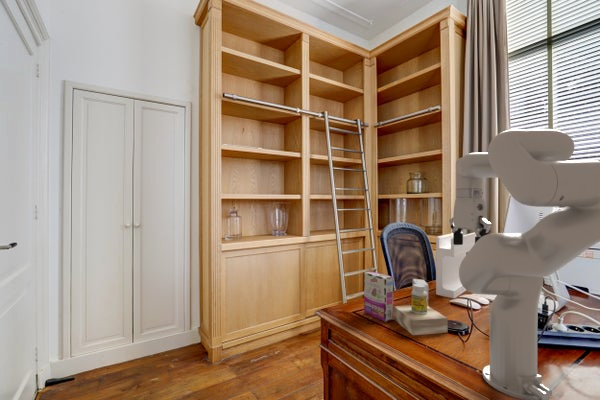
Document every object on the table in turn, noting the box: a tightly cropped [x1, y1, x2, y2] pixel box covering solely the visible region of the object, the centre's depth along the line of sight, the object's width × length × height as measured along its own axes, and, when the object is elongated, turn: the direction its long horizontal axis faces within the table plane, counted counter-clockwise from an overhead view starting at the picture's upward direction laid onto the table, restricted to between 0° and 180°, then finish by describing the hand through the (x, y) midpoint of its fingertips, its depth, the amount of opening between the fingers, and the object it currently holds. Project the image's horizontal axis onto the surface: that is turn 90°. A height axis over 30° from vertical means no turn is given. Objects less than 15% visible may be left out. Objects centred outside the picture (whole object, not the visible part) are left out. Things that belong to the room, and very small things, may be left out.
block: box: [435, 231, 477, 299], centre depth 148 cm, size 35×8×28 cm, turn 134°
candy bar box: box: [363, 271, 394, 323], centre depth 113 cm, size 11×5×16 cm, turn 33°
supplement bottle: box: [410, 284, 427, 314], centre depth 104 cm, size 5×5×10 cm
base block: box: [393, 304, 449, 336], centre depth 104 cm, size 13×13×5 cm
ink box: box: [411, 278, 430, 306], centre depth 119 cm, size 9×5×12 cm, turn 168°
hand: (468, 247), depth 94 cm, fingers open, 9 cm apart
